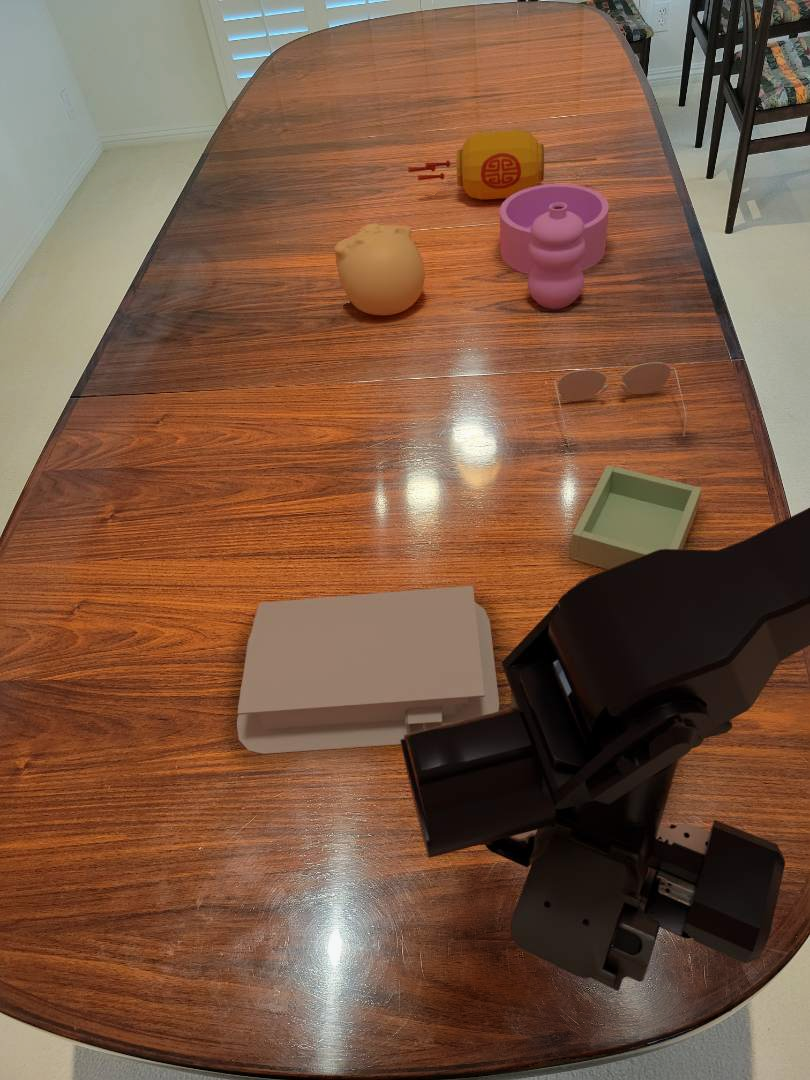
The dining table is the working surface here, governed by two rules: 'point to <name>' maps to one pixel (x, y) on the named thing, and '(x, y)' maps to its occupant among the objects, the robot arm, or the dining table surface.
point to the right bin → (633, 518)
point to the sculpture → (380, 269)
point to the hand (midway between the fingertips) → (591, 891)
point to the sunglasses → (634, 381)
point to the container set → (554, 238)
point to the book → (364, 669)
